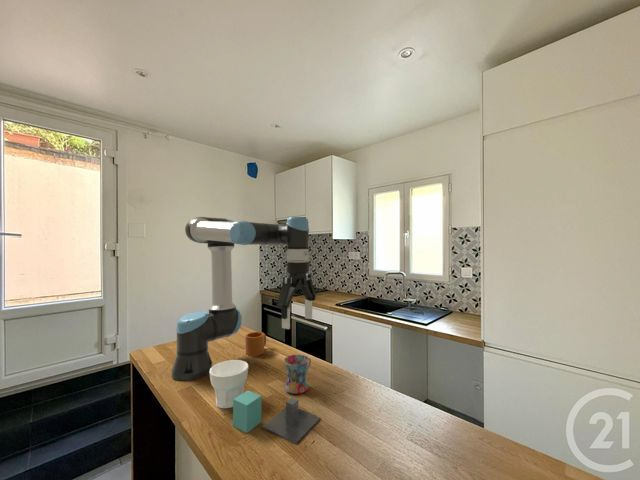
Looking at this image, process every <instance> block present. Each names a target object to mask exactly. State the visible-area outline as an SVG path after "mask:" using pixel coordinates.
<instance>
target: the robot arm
mask: <svg viewBox="0 0 640 480" xmlns="http://www.w3.org/2000/svg"><path fill="white" fill-rule="evenodd" d="M309 227H310V226H309V219H308V218H307V217H304V216H289V217H287V219H286V223H280V224H279V223H277V224H275V223H265V222H263V223H261V222H253V221H246V220H241V221H234V220H232V219H228V218H220V217H218V218H217V217H206V216H198V217H194V218H191V219H190V220H188V222H187V223H186V225H185V227H184V231H185V235H186V237H187V238H188V239H189V240H190V241H192V242H195V243H197V244H207V250H210V253H211V254H210V255H211V260H210V261H211V298H212V300H211V301H212V302H211V303H212V304H211V306H209V307H208V312H207V311H203V310H201V311H194V312H189V313H187V314H184V315H183V316H181V317H179V319H178V321H177V325H176V356H175V359H174V362H173V365H172V368H171V378H172V379H174V380H175V381H176V380H177V381H192V380H196V379H199V378H200V379H201V378H202V377H204V376H206V375H208V374H210V373H209V371H210V368H212V367H213V362H212V358H211V355H210V353H209V343H210V342H213V341H216V340H217V341H218V340H220V339H223V338H229V337H230V336H233V335H236V333H238V331H240V329H241V327H242V319H243V317H242V314H241V311H240V310H239V309H238V308H237V305H235V303H234V302H233V281H232V280H233V279H232V278H233V277H232V250H233V249H234V248H235V245H242V246H244V245H245V246H247V245H255V246H256V245H267V246H268V245H270V246H277V245H278V246H279V245H280V246H283V245H284V246H285V245H286V261H288V262H287V264H286V272H287V274H288V275H289V276H288V277H287V276H283V277H282V284H281V285H282V286H281V289H280V292H279V295H278V298H277V302H276V307H277V308H278V309H280V311H281V312H280V313H281V314H280V315H281V328H282V329H284V330H290V329H291V308H290V307H289V306H290V304H291V302H292V300H293V298H294V295H295V293H296V292H297V291H298V290H299V289H300V290H301V292H302V294H303V295H304V298H305V300H304V319H308V320H313V302H314V301H315V300H316V297H317V295H316V292H315V287H314V284H313V280H312V274H311V273H309V271H310V265H309V264H310V263H309V262H308V261H309V256H310V255H309V254H310V252H309V249H310V248H309V235H310V234H309V233H310V232H309V231H310V229H309Z"/></svg>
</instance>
